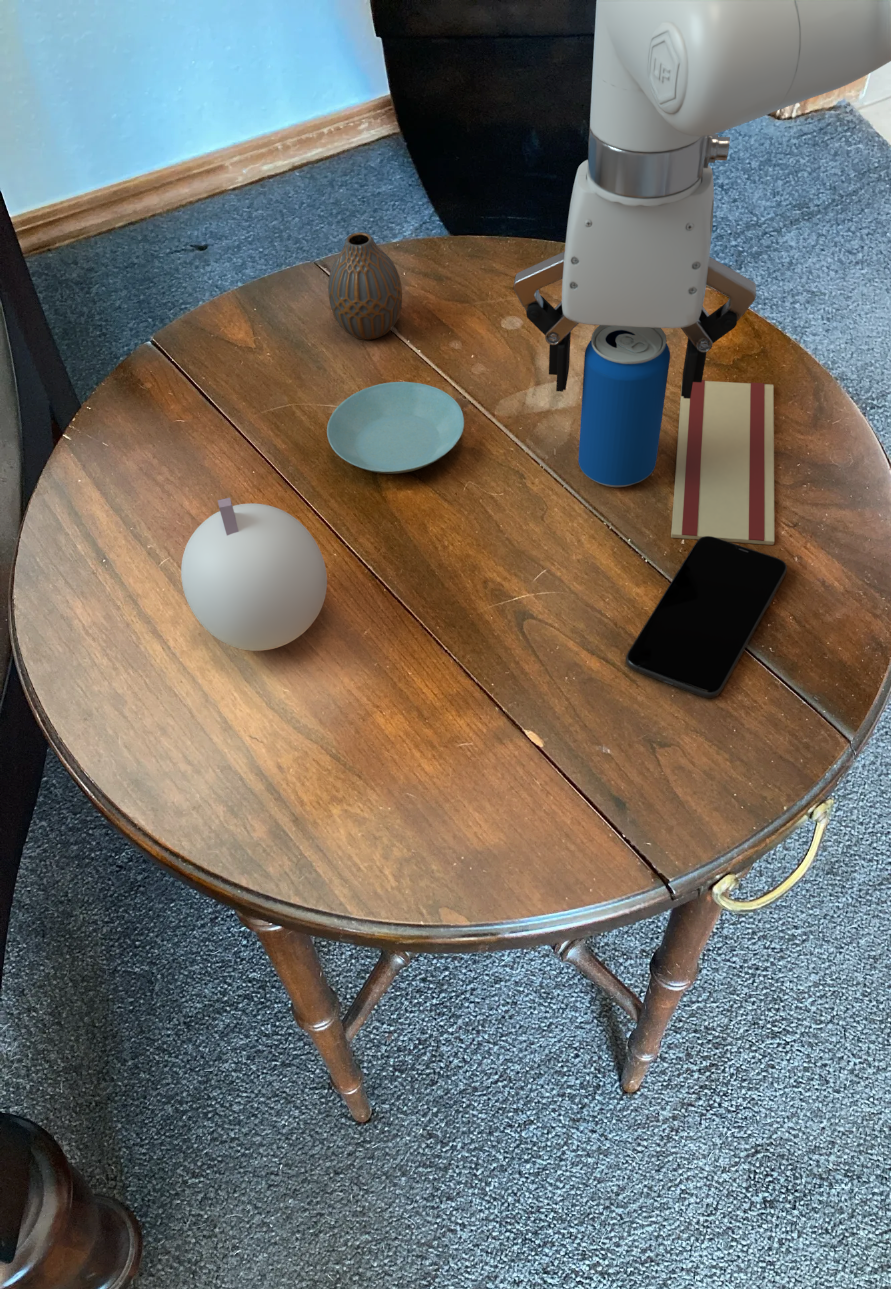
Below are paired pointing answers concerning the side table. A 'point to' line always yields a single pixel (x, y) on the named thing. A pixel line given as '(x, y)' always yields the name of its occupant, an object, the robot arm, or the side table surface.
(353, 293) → the vase
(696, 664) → the smartphone
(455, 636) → the side table surface
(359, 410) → the saucer
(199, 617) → the ornament
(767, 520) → the tea towel
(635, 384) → the beverage can
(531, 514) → the side table surface
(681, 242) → the robot arm
